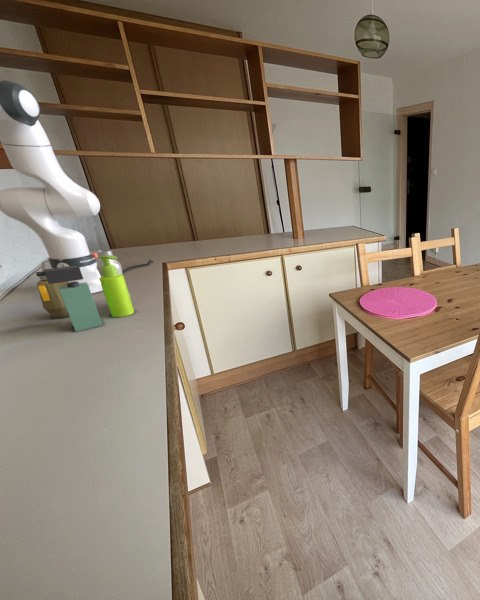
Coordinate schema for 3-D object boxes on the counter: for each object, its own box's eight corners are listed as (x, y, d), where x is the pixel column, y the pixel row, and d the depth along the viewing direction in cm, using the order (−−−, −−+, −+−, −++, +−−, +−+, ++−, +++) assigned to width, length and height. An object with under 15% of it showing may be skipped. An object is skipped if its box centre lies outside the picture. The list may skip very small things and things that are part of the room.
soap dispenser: (124, 318, 102) (104, 258, 95) (106, 316, 103) (86, 257, 96) (141, 311, 107) (124, 254, 100) (124, 309, 109) (106, 253, 101)
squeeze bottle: (87, 311, 106) (69, 260, 100) (57, 321, 99) (34, 266, 92) (72, 308, 108) (53, 257, 102) (41, 317, 101) (18, 263, 95)
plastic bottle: (114, 311, 107) (95, 254, 100) (106, 307, 110) (87, 251, 103) (137, 305, 112) (120, 250, 105) (129, 301, 115) (112, 248, 108)
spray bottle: (60, 335, 91) (35, 273, 84) (59, 329, 94) (35, 269, 87) (102, 325, 97) (82, 267, 90) (100, 320, 100) (80, 264, 93)
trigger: (43, 301, 87) (38, 287, 86) (43, 298, 89) (38, 284, 88) (50, 300, 88) (44, 286, 86) (49, 297, 90) (44, 283, 88)
